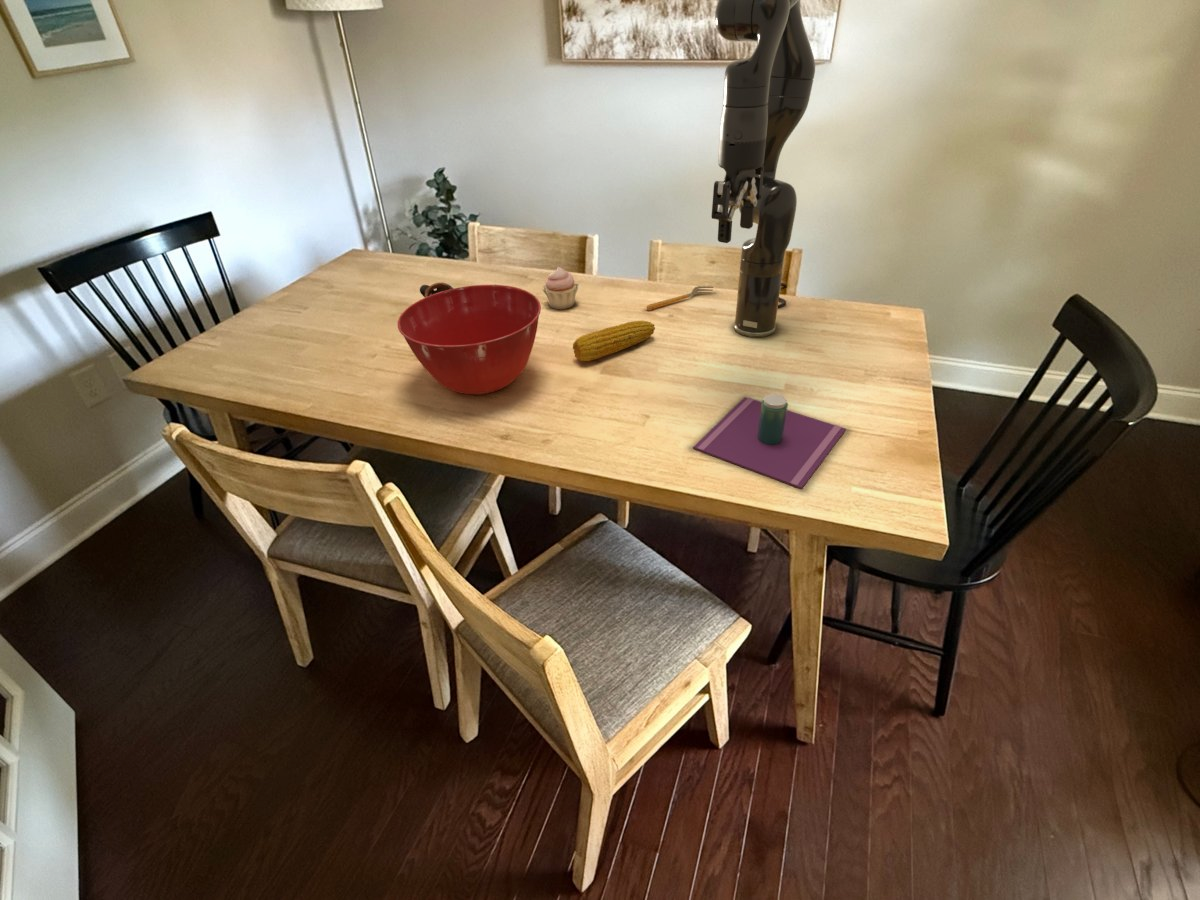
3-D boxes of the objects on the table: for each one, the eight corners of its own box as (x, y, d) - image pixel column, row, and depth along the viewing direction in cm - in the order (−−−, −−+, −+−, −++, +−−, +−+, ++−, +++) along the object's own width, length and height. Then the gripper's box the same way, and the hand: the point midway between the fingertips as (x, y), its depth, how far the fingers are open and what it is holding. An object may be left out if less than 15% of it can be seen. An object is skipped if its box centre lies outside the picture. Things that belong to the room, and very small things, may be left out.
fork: (649, 306, 159) (714, 286, 166) (645, 302, 160) (709, 282, 167) (648, 314, 161) (712, 294, 168) (644, 310, 162) (708, 290, 169)
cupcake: (562, 294, 171) (559, 257, 165) (587, 303, 166) (585, 265, 160) (536, 305, 166) (532, 268, 160) (560, 315, 160) (557, 276, 155)
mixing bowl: (428, 429, 121) (411, 357, 112) (403, 365, 143) (386, 300, 133) (567, 393, 130) (561, 323, 121) (523, 337, 151) (515, 274, 142)
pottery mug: (470, 305, 169) (463, 286, 161) (451, 332, 166) (443, 314, 158) (432, 288, 171) (424, 268, 164) (412, 315, 168) (403, 296, 160)
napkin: (744, 398, 126) (744, 396, 125) (845, 430, 115) (846, 428, 115) (693, 448, 113) (693, 446, 113) (801, 489, 103) (801, 487, 103)
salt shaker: (763, 427, 116) (768, 390, 112) (786, 435, 114) (792, 397, 110) (752, 439, 114) (757, 401, 109) (776, 447, 112) (781, 409, 107)
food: (584, 369, 138) (583, 344, 134) (570, 359, 142) (568, 335, 138) (659, 339, 147) (660, 316, 144) (644, 331, 151) (644, 308, 148)
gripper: (741, 125, 110) (734, 220, 120) (700, 142, 102) (696, 243, 111) (782, 128, 107) (772, 226, 116) (744, 146, 98) (736, 250, 107)
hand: (735, 234), depth 114 cm, fingers open, 8 cm apart
